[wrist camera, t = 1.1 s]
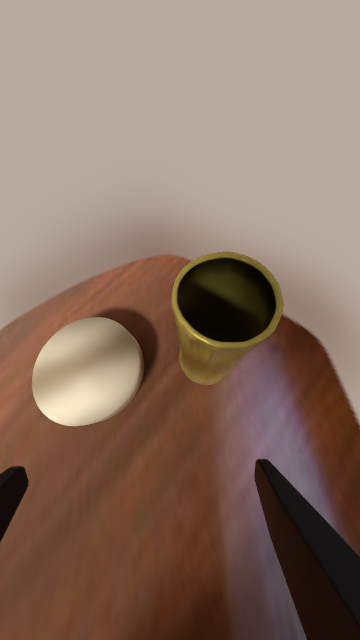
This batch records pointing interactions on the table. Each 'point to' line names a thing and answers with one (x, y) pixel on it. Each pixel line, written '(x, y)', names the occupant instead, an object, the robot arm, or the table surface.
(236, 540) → the table surface
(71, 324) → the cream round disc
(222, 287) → the vase
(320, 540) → the robot arm
